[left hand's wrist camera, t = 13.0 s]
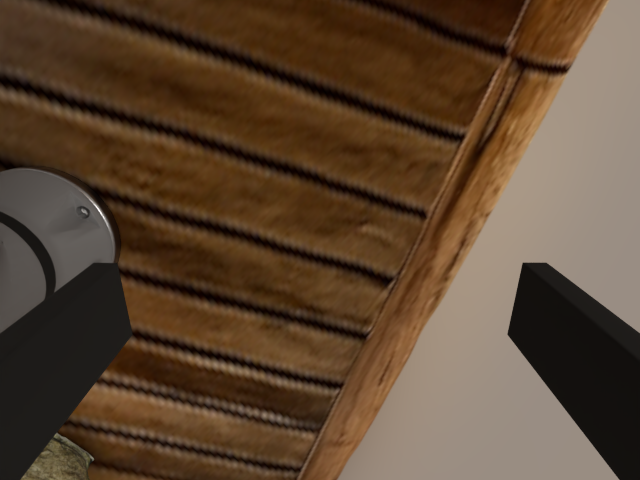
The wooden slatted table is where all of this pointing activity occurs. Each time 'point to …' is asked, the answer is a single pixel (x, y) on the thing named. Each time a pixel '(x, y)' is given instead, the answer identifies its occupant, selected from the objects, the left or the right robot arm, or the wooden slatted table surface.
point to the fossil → (60, 462)
